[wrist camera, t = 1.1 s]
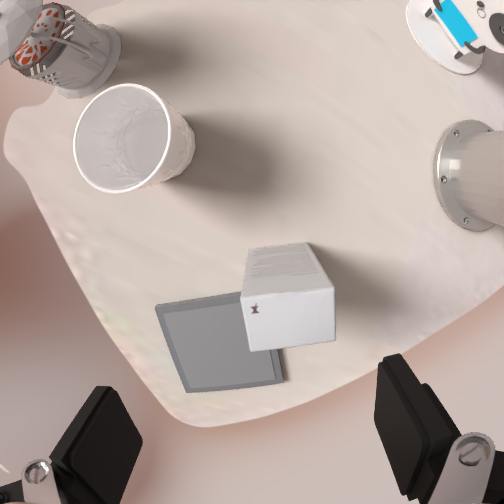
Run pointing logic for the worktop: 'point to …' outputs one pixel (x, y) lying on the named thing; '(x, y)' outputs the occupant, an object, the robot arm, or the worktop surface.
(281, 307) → the skincare box
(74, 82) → the french press
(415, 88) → the worktop surface
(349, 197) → the worktop surface
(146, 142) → the white cup
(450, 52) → the panda figurine
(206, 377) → the tray
